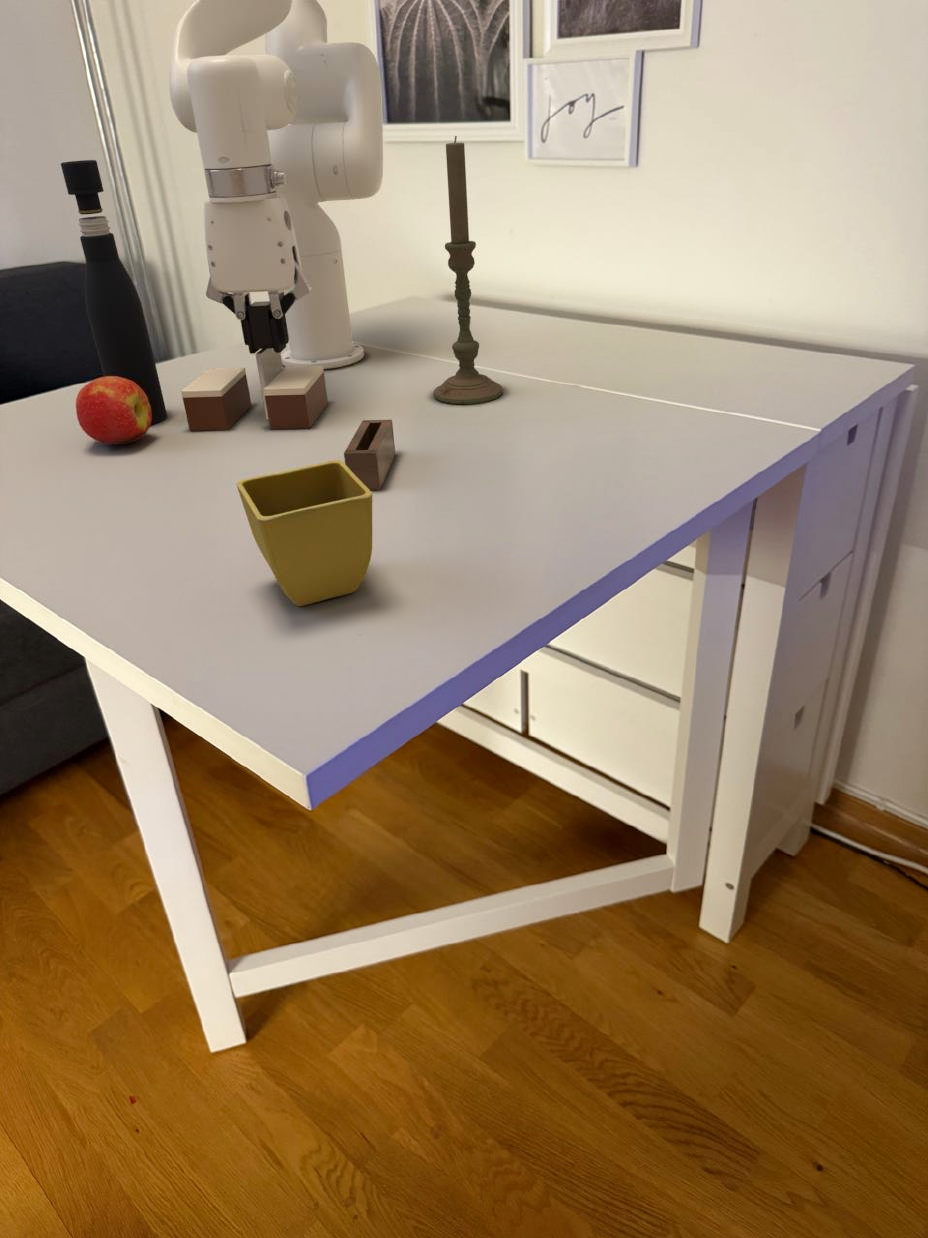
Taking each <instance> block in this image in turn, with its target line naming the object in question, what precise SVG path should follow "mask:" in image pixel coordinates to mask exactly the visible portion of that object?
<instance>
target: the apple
mask: <svg viewBox="0 0 928 1238" xmlns="http://www.w3.org/2000/svg"><path fill="white" fill-rule="evenodd" d="M75 413H76V419H77V421H78V423H79V426H80V428H81V429H82V431H83V432H84V433H85V434H86V435H87V436H89V438H91V439H93V440H95V441H97V442H99V443H102V444H108V445H113V446H115V445H127V444H131V443H134V442H136V441H139V440H140V439H142V438H143V437H144V436H145V435H146V434H147V432H148V431H149V429H150V428H151V426H152V425H151V421H152V411H151V406H150V404H149V402H148V397H147V396H146V394H145V392H144V391H143V390H142V389H141V388H140V387H139V386H138V385H137V384H136V383H134V382H133V381H131V380H128V379H125V378H122V377H117V376H106V377H104V376H101V377H98V378H96V379H94V380H92V381H90V382H88V383H87V384H85V385H84V386H82V388H81V389H80V390H79V391H78V393H77V395H76V399H75Z"/></svg>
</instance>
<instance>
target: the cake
mask: <svg viewBox="0 0 928 1238" xmlns="http://www.w3.org/2000/svg"><path fill="white" fill-rule="evenodd" d="M249 388H250V387H249V383H248V377H247V372H246V367H227V368H226V367H225V368H224V367H223V368H222V367H221V368H207V369H206V370H205V371H204V372H203V373H201V374H200V375H199V376H198V377H196V378H195V379H194V380H193V381H191V382H190V383H189V384H188V385H187V386H185V387H184V388H183V389H182V390H181V391H180V393H181V399H182V402H183V406H184V411H185V415H186V420H187V424H188V425H187V426H188V429H189V431H190V432H195V431H196V432H198V431H201V432H202V431H204V432H205V431H229V430H230V429H231V428H232V427H233V426H234V424H236V422H237V421H239V419H240V418H241V417H242V416H243V415H244V414H245V413H246V412H247V411H248V410H249V408H250V407H252V399H251V394H250V389H249Z"/></svg>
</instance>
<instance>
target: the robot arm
mask: <svg viewBox="0 0 928 1238" xmlns="http://www.w3.org/2000/svg"><path fill="white" fill-rule="evenodd" d="M326 15H327V14H326V13H325V11H324V9H323V7H322V5H321V4H320V3H319V2H318V0H194V2H193V3H192V4H191V5H190V6H189V7H188V8H187V10H186V11H185V12H184V14H183V15H182V16H181V18H180V19H179V21H178V24H177V26H176V28H175V29H174V30H175V31H174V34H173V38H172V39H173V40H172V45H171V54H170V62H169V63H170V65H169V73H168V74H169V76H168V77H169V78H168V79H169V82H168V86H169V96H170V98H169V99H170V103H171V106H172V109H173V112H174V114H175V116H176V118H177V120H178V121H179V123H180V124H181V125H182V126H183V127H184V128H185V129H187V130H188V131H190V132H192V133H195V134H196V135H197V139H198V144H199V151H200V156H201V161H202V167H203V171H204V177H205V183H206V188H207V189H206V190H207V194H208V199H207V200H205V201H204V203H203V204H204V206H203V217H204V218H203V219H204V221H203V222H204V239H205V241H204V242H205V252H206V259H207V264H208V265H207V267H208V272H209V279H208V284H207V288H206V291H205V296H206V297H207V298H208V299H210V300H212V301H214V302H216V303H219V304H222V305H224V307H226V308H227V309H228V310H229V311H230V312H232V313H233V314H234V315H235V317H236V319H237V320H238V321H240V326H241V331H242V336H243V342H244V345H245V346H247V347H248V352H249V354H251V355H252V354H253V355H256V353H257V352H259V351H260V349H254V344H253V337H252V331H251V325H250V319H249V313H248V306H249V305H251V304H252V299H251V293H261V292H263V293H265V292H267V293H268V294H267V295H268V299H269V300H268V301H270V305H271V310H272V313H271V315H272V318H271V319H270V328H271V334H272V340H273V347H274V348H273V349H274V352H276V353H282V352H283V351H284V350H285V349H286V348H287V345H288V344H289V349H288V350H286V351H284V352H283V353H282V354H281V359H282V366H284V367H295V366H323V370H330V369H336V368H341V367H346V366H350V365H352V364H356V363H357V362H359V361H361V360H362V359H363V358H364V357H365V350H364V347H363V346H362V345H360V344H357V343H354V342H353V334H352V326H351V325H352V324H351V318H350V308H349V300H348V299H349V298H348V292H347V291H348V289H347V282H346V275H345V273H346V272H345V265H344V258H343V249H342V241H341V236H340V232H339V230H338V228H337V226H336V224H335V223H334V221H333V220H332V219H331V218H330V216H329V215H328V213H326V212H325V210H324V209H323V208H322V207H321V206H320V204H319V203H324V202H325V203H326V202H336V201H351V200H353V201H354V200H364V199H369V198H371V197H374V196H375V195H377V194H378V192H380V189H381V187H382V183H383V177H384V176H383V175H384V134H383V133H384V128H383V126H384V125H383V123H384V122H383V90H382V89H383V87H382V79H381V77H382V76H381V72H380V68H379V65H378V62H377V58H376V57H375V54H374V53H373V51H372V49H370V48H369V47H368V46H367V45H365V44H362V43H359V42H353V41H352V42H351V41H349V42H345V41H344V42H332V43H328V20H327V16H326ZM264 35H265V36H264ZM262 36H264V37H265V38H264V39H265V40H264V41H265V43H264V44H265V45H264V46H265V47H264V51H265V52H264V53H265V54H247V55H240V54H229V53H230V52H232V51H234V50H236V49H238V48H239V47H242V46H244V45H246V44H248V43H251V42H253V41H255V40H257V39H259V38H261V37H262ZM227 54H228V55H227Z"/></svg>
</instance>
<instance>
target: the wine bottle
mask: <svg viewBox="0 0 928 1238" xmlns="http://www.w3.org/2000/svg"><path fill="white" fill-rule="evenodd" d="M60 167H61V171H62V175H63V179H64V183H65V187H66V191H67V194H68V195H70V196H74V197H75V200H76V204H77V208H78V214H79V215H96V214H101V213H103V207H102V204H101V201H100V196H99V193H103V192H104V186H103V182H102V178H101V174H100V170H99V165H98V161H97V160H96V159H85V160H72V161H64V162H61V163H60ZM78 221H79V222H78V226H79V227H80V233H81V234H82V235H81V236H80V237H79V239H80V244H81V248H82V251H83V255H84V259H85V272H84V299H85V300H84V301H85V310H86V313H87V317H88V321H89V325H90V328H91V333H92V336H93V341H94V344H95V347H96V352H97V355H98V359H99V364H100V367H101V371H102V374H103V377H106V376H117V377H122V378H125V379H128V380H131V381H133V382H134V383H136V384H137V385H138V386H139V387H140V388H141V389H142V390H143V391H144V392H145V394H146V396H147V397H148V402H149V404H150V406H151V411H152V421H151V425H150V426H153V425H156V424H159V423H161V422H163V421H165V420H166V419H167V418H168V413H167V409H166V408H167V407H166V404H165V400H164V395H163V391H162V387H161V381H160V378H159V374H158V373H159V372H158V369H157V365H156V361H155V355H154V351H153V348H152V343H151V340H150V339H151V338H150V335H149V330H148V326H147V322H146V317H145V314H144V309H143V304H142V301H141V298H140V295H139V292H138V290H137V288H136V286H135V284H134V282H133V280H132V277H131V276H130V274H129V273H128V271H127V268H126V267H125V265H124V264H123V262H122V260H121V259H120V256H119V252H118V251H119V250H118V248H117V243H116V239H115V235H114V233H112V232H110V230H111V227H110V226H109V220H107V216H106V215H96V216H86V217H81V218H78Z"/></svg>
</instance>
